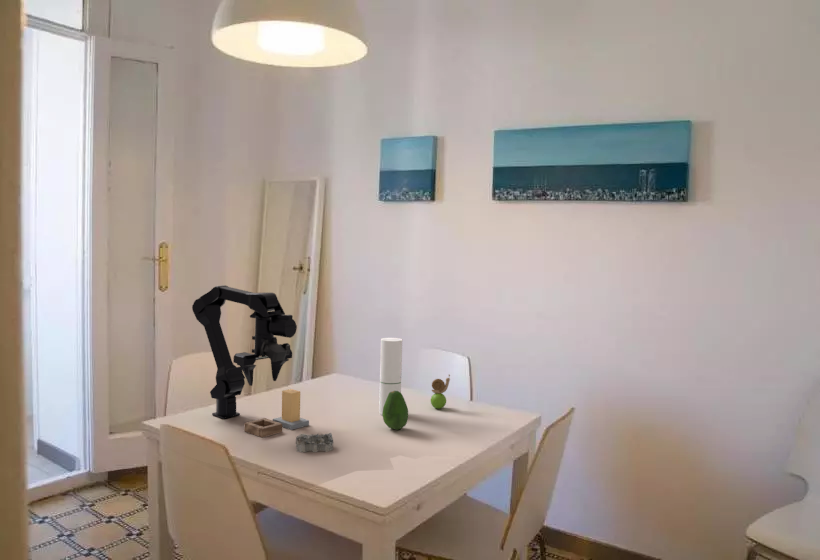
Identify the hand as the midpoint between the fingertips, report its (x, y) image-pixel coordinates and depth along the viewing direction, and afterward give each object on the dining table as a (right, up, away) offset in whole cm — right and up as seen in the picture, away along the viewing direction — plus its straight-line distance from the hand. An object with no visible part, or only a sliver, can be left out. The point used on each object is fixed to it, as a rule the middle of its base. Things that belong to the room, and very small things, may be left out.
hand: (262, 383), depth 207 cm
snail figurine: (+56, -13, +24) cm, 62 cm away
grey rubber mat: (+9, -13, +1) cm, 16 cm away
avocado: (+41, -14, -1) cm, 43 cm away
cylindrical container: (+39, -13, +16) cm, 44 cm away
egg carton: (+19, -15, -20) cm, 32 cm away
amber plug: (+9, -11, +1) cm, 14 cm away
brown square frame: (+2, -13, -7) cm, 15 cm away
